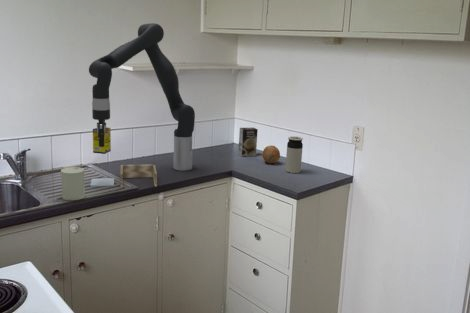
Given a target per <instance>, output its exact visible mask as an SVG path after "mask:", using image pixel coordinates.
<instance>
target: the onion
mask: <svg viewBox="0 0 470 313" xmlns="http://www.w3.org/2000/svg"><path fill="white" fill-rule="evenodd" d="M261 156H262V159H263V160H264V162H265V163H268V164H275V163H277V162H278V161H279V160H280V159H281V158H280V157H281V152H280V149H279V148H278V147H277V146H275V145H267V146H265V148H264V149H263V150H262V155H261Z"/></svg>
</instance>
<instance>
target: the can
mask: <svg viewBox="0 0 470 313" xmlns="http://www.w3.org/2000/svg"><path fill="white" fill-rule="evenodd" d="M60 176H61V199H62V200H64V201H65V200H66V201H77V200H79V201H80V200H82V199H85V197H86V192H85V189H86V188H85V168H83V167H79V166H70V167H68V166H67V167H64V168H62V169H61V170H60Z"/></svg>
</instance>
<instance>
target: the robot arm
mask: <svg viewBox="0 0 470 313" xmlns="http://www.w3.org/2000/svg"><path fill="white" fill-rule="evenodd" d="M164 35H165V31H164V29H163V27H162V26H161V25H160V24H158V23H155V22H151V23H143V24H141V25H139V27H138V29H137V37H136V38H134V39H132V40H129V41H128V42H126V43H124V44H122V45H119V46H118V47H117V48H115V49H113V50H112V51H111V52H109V53H108V54H106V55H103V56H102V57H100V58H99V57H98V59H95V60H94V61H92V63H90V65H89V66H88V73H89V75H90V76H91V77H93V78H96V83H95V84H94V85H92V102H91V106H92V110H91V111H92V112H91V113H92V119H93V120H95V121H98V122H96V128H97V133H98V138H99V147H104V138H105V137H104V133H105V132H104V130H105V128H106V127H107V122H106V121H108V120H110V119H111V101H110V87H111V82H112V78H113V76H112V75H113V70H112V69H119V68H120V67H121V66H122V65H124V64H126V62H128V61H129V60H130V59H132V58H133V57H135V56H137V55H138V54H140V53H141V52H142V51H143V52H144V51H145V52H146V54H147V56H148V58H149V60H150V61H149V62H150V63H151V65H152V67H153V70H154V73H155V75H156V77H157V79H158V82H159V85H160V87H161V89H162V91H163V93H164V95H165V98H166V101H167V103H168V106H169V110H170V113H171V116H172V118H173V119H174V120H175V121H177V128H175V130H174V131H173V164H172V166H173V169H174V170H175V171H182V172H183V171H184V172H186V171H190V170H193V154H194V153H193V132H194V130H195V122H196V120H195V118H196V114H195V109H194V108H193V106H191V105H188V104H185V103H184V101H183V99H182V97H181V94H180V90H179V88H180V87H179V86H180V84H179V78H178V77H179V76H178V74H177V72H176V69H175V66H174V65H173V63H172V62H171V61H170V59H168V57H167V56H166V55H165V54H164V52H162V50H161V48H160V46H159V43H160V42H161V41H163V38H164ZM102 133H103V135H100V134H102Z"/></svg>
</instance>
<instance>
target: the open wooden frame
mask: <svg viewBox="0 0 470 313" xmlns="http://www.w3.org/2000/svg"><path fill="white" fill-rule="evenodd" d="M127 178H128V179H129V178H132V179H133V178H136V179H137V178H152V179H153V184H154V187H158V173H157V168H156V165H155V164H120V188H124V179H127Z"/></svg>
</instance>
